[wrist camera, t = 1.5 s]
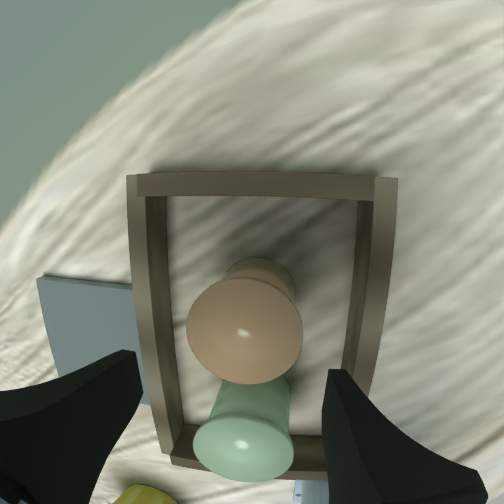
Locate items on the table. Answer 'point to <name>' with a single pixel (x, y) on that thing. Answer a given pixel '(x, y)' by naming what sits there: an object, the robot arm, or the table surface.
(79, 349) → the slate slab
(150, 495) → the plant pot
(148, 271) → the frame
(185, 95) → the table surface
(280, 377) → the green pot
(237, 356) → the terracotta pot
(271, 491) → the table surface
